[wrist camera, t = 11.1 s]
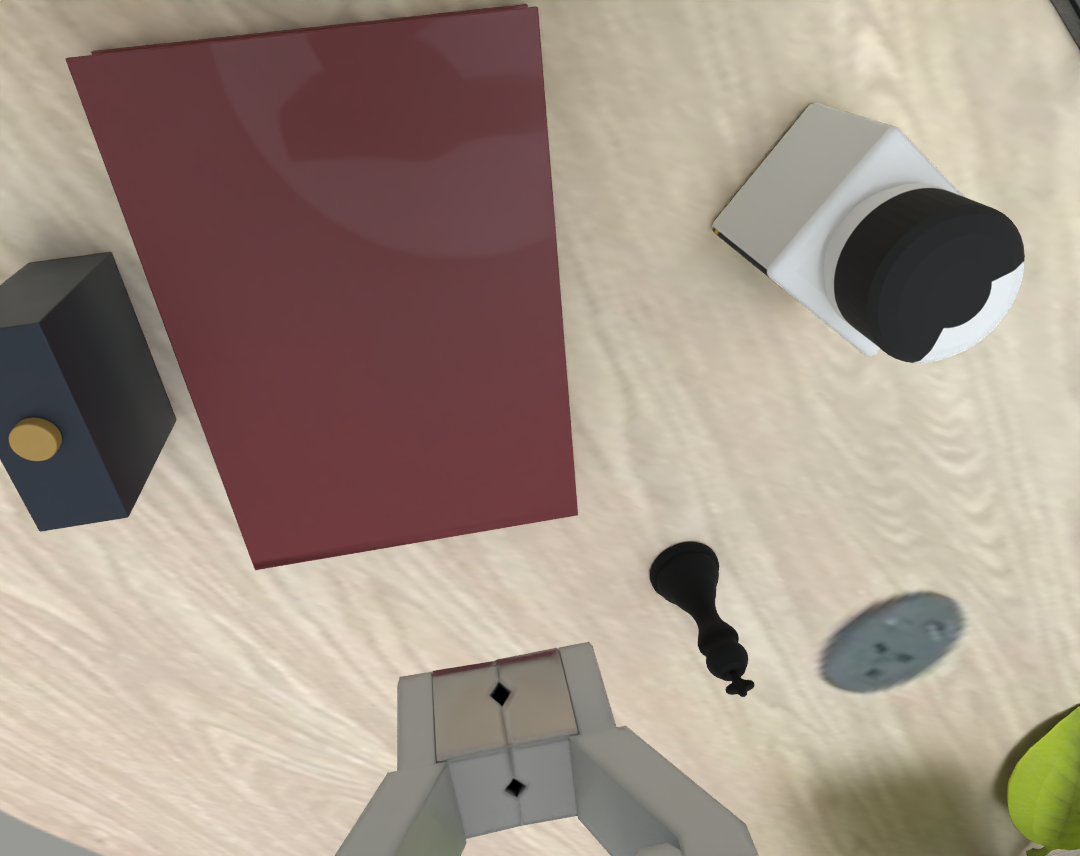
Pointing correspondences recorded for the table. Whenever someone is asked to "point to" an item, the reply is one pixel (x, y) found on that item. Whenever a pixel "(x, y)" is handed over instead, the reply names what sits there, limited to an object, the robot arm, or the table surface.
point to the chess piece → (702, 608)
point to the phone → (1070, 16)
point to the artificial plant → (1049, 789)
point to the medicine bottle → (875, 239)
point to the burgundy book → (353, 270)
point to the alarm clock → (77, 393)
